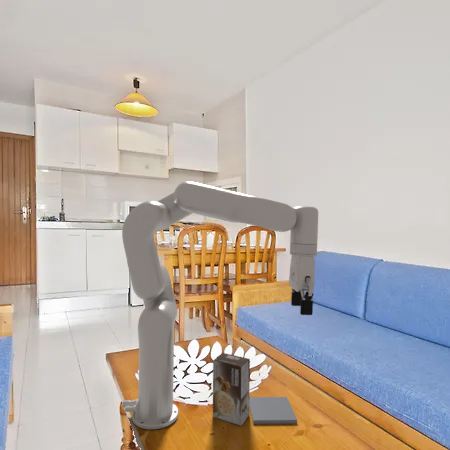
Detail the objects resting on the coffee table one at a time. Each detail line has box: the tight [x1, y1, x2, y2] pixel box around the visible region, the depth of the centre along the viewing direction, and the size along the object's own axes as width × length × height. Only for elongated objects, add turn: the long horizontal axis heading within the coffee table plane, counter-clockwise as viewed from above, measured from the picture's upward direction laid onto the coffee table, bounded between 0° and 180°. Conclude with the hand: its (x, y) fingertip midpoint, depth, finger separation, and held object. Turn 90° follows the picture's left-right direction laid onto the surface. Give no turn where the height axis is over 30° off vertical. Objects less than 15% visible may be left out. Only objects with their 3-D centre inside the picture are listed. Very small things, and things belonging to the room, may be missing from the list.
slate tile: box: [249, 396, 298, 425], centre depth 97 cm, size 12×12×1 cm
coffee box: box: [212, 352, 251, 426], centre depth 94 cm, size 9×6×16 cm
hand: (301, 309), depth 95 cm, fingers open, 9 cm apart
